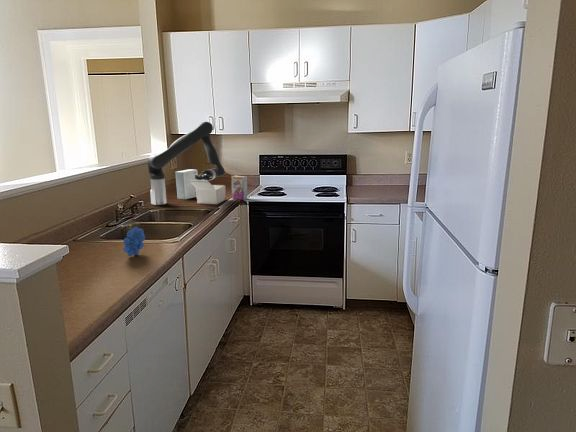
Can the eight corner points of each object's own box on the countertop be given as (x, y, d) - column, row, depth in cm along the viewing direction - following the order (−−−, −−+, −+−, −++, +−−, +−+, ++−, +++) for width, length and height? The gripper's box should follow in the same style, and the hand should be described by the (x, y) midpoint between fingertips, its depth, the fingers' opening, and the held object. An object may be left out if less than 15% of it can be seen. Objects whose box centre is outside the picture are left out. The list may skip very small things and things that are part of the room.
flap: (214, 189, 280) (207, 180, 267) (196, 188, 283) (188, 180, 270) (214, 188, 280) (207, 180, 267) (196, 188, 283) (188, 179, 270)
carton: (217, 204, 283) (217, 189, 281) (196, 203, 286) (195, 188, 284) (226, 199, 299) (225, 185, 297) (206, 199, 302) (205, 184, 300)
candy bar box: (231, 198, 303) (230, 176, 299) (236, 197, 307) (235, 175, 304) (243, 200, 297) (242, 177, 293) (248, 199, 301) (247, 176, 298)
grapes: (138, 249, 185) (136, 223, 182) (150, 251, 182) (147, 225, 179) (117, 257, 175) (114, 229, 172) (129, 259, 172) (126, 231, 169)
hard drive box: (192, 195, 317) (190, 169, 312) (199, 196, 313) (198, 169, 309) (176, 198, 304) (175, 171, 299) (184, 199, 300) (183, 172, 296)
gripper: (199, 169, 285) (188, 172, 269) (217, 169, 283) (207, 173, 266) (199, 180, 287) (188, 184, 271) (217, 180, 285) (208, 184, 268)
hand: (198, 178), depth 269 cm, fingers closed
